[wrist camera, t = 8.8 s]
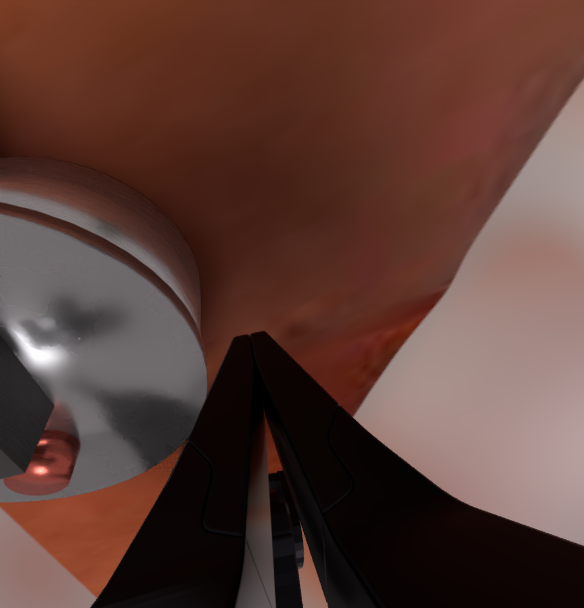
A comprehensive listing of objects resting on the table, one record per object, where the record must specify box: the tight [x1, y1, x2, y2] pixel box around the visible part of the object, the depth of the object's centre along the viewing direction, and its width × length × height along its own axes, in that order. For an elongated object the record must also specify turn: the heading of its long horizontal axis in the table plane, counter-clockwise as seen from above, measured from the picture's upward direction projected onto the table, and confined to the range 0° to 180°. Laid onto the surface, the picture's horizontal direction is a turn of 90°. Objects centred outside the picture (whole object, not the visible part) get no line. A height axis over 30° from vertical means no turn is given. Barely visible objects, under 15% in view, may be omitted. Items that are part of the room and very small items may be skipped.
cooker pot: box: [0, 157, 201, 334], centre depth 16 cm, size 20×15×7 cm
